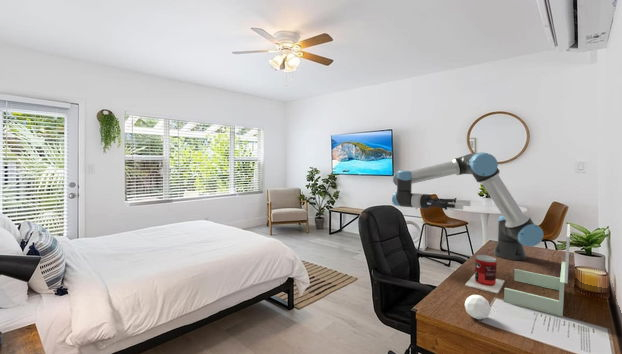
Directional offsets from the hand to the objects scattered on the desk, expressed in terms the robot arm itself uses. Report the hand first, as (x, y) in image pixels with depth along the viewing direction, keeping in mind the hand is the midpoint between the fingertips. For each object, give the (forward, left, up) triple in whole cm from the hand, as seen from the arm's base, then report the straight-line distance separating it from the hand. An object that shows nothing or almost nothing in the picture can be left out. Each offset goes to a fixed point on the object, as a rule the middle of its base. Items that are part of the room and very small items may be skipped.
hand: (466, 204), depth 142 cm
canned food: (+8, +10, -32) cm, 35 cm away
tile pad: (+8, +10, -33) cm, 35 cm away
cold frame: (+8, +27, -33) cm, 43 cm away
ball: (+42, +14, -33) cm, 55 cm away
